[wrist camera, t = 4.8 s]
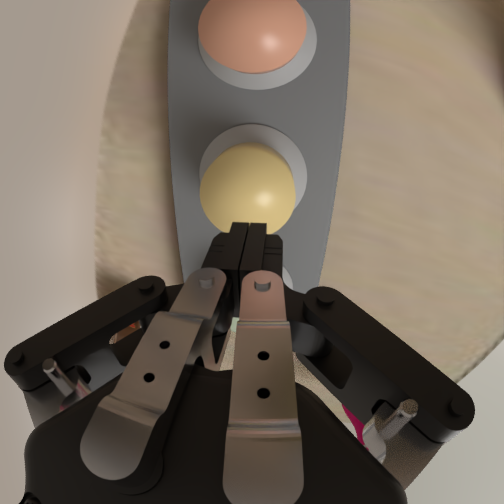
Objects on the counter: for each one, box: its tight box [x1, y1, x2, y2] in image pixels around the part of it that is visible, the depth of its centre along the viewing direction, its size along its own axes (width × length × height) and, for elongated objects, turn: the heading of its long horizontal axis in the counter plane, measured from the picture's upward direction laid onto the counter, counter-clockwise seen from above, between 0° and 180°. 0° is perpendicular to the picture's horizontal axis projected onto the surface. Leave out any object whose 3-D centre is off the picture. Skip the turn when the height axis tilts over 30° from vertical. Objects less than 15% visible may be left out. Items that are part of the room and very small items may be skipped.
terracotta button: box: [198, 0, 307, 74], centre depth 12 cm, size 6×6×2 cm
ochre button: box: [200, 142, 296, 234], centre depth 17 cm, size 6×6×2 cm
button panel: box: [168, 0, 350, 294], centre depth 20 cm, size 12×30×3 cm, turn 178°
